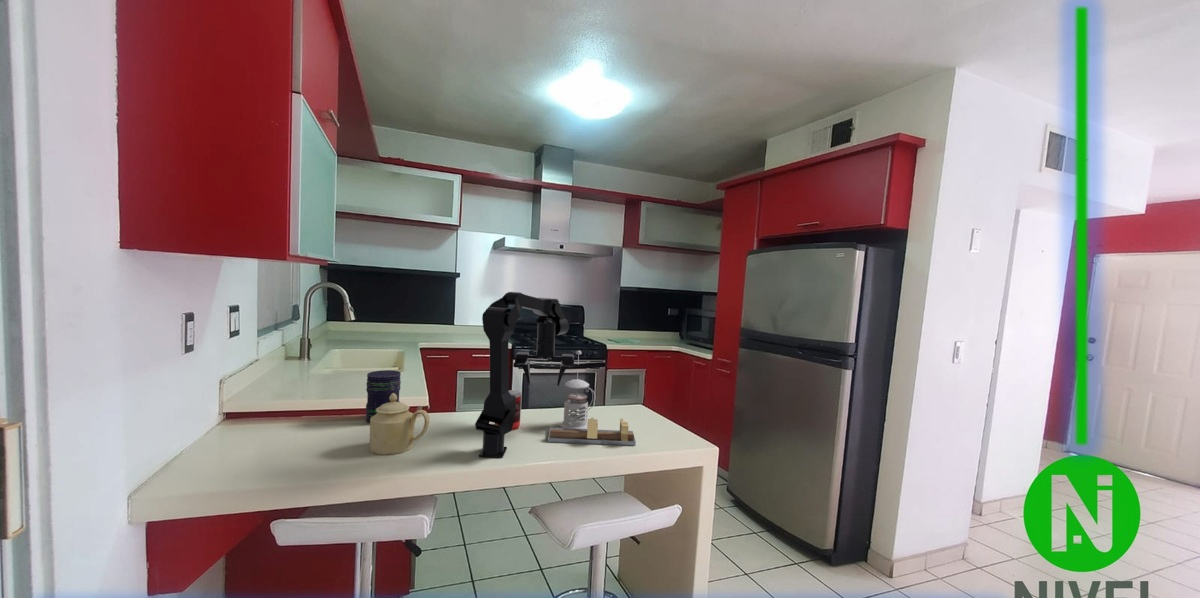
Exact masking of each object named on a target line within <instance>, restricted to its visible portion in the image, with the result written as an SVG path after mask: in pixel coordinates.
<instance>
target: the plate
mask: <svg viewBox="0 0 1200 598" xmlns="http://www.w3.org/2000/svg"><path fill="white" fill-rule="evenodd" d="M550 430H574V431H587V429H570V428H562V427H550V428H549V432H548V437H547V443H559V444H560V443H564V444H565V443H566V444H584V445H585V444H587V445H588V444H589V445H593V444H594V445H610V446H612V445H613V446H636V443H637V442H636V437H635V436H634V440H628V441H621V440H619V439H592V438H570V437H550ZM598 432H620V430H616V429H615V430H614V429H598ZM628 433H634V432H633V430H628Z"/></svg>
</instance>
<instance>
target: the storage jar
mask: <svg viewBox="0 0 1200 598" xmlns="http://www.w3.org/2000/svg"><path fill="white" fill-rule="evenodd" d="M401 374H402V373H401V372H400V371H399V370H392V369H391V370H389V369H387V370H377V371H371V372H368V373H367V374H366V377H367V378H366V389H365V390H366V393H367V397H366V398H367V399H366V400H367V401H366V404H365V417H366V419H365V422H366V423H367V424H369V425H370V419H371V417H372V416H374V415H376V414H377V411H376V409H377V408H378V407H380V406H381V405H383V404H385V403H389V402H391V401H390V399H389V397H390V395H391V394H392V393H395V394H396V396H397V400H396V402H401V401H400V390H401Z"/></svg>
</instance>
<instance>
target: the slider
mask: <svg viewBox="0 0 1200 598" xmlns="http://www.w3.org/2000/svg"><path fill="white" fill-rule="evenodd" d="M598 421H599V420H598V419H596V418H594V417H592V416H591V418H587V423H588V424H587V438H592V439H597V431H598V430H599V422H598Z"/></svg>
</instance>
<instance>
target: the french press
mask: <svg viewBox="0 0 1200 598" xmlns="http://www.w3.org/2000/svg"><path fill="white" fill-rule="evenodd" d="M575 354H576V355H578V356H577V364H579V363H580V361H579V360H580V357H579V356H580V355H582V351H581V350H576V351H575ZM576 373H577V374H576V375H577V376H576V378H575V379H574V378H573V379H570V380H568V381H566V382H565V383H564V385H565V387H566V388H568V389H576V390H582V389H587V390H585V392H586V393H589V391H591V395H592V396H591V397H592V399H591V401H590V404H589V401H588V400H587V398H588V396H587V395H586V394H582V393H578V391H576V393H568V394H566V395H565V398H566V399H564V407H563V420H562V422H561V423H560V428H570V429H587V424H588V411H589V410H590V409H592V408H593V407H594V405H595V402H596V392H595V391H594V390H593V389H592V388H590V383H588V382H587V381H585V380H582V379H579V370H577V371H576ZM571 402H572V403H571ZM577 402H578V403H577ZM590 406H591V407H590Z"/></svg>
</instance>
